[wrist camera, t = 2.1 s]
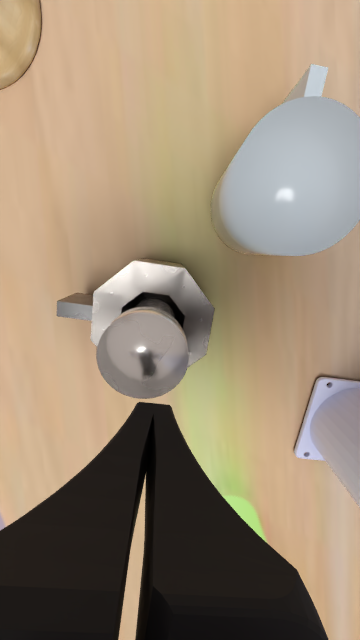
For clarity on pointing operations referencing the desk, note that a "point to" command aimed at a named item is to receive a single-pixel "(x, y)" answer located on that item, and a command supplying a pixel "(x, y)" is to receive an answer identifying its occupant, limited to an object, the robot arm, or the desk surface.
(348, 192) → the white dome with tab
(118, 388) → the grey flared round piece
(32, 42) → the hand bell
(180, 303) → the grey octagonal pot
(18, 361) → the desk surface
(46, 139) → the desk surface
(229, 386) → the desk surface
